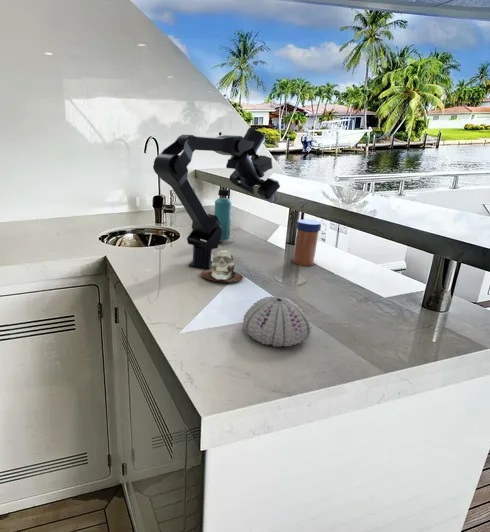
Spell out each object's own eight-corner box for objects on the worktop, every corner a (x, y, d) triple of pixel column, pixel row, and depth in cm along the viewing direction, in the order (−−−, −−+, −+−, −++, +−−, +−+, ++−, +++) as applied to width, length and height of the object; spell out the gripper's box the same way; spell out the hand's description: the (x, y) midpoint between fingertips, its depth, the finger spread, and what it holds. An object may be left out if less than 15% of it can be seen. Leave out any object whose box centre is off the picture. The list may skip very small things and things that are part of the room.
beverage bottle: (230, 244, 142) (235, 190, 135) (212, 244, 142) (216, 190, 135) (227, 240, 148) (232, 188, 141) (210, 239, 148) (214, 187, 142)
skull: (244, 283, 102) (220, 254, 101) (214, 302, 107) (191, 274, 106) (249, 268, 112) (227, 241, 112) (221, 286, 117) (201, 260, 116)
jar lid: (320, 232, 116) (321, 225, 115) (296, 230, 118) (297, 223, 117) (319, 227, 122) (320, 220, 121) (296, 225, 124) (297, 218, 124)
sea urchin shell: (320, 351, 73) (327, 314, 70) (251, 353, 72) (256, 315, 69) (292, 319, 85) (297, 286, 83) (233, 320, 84) (236, 287, 82)
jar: (313, 266, 120) (320, 226, 116) (292, 264, 122) (298, 224, 118) (313, 260, 126) (319, 222, 121) (293, 258, 128) (298, 220, 123)
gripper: (283, 155, 113) (299, 188, 124) (242, 141, 127) (259, 172, 137) (258, 183, 113) (276, 213, 124) (220, 166, 127) (239, 195, 137)
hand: (262, 197), depth 131 cm, fingers open, 9 cm apart
